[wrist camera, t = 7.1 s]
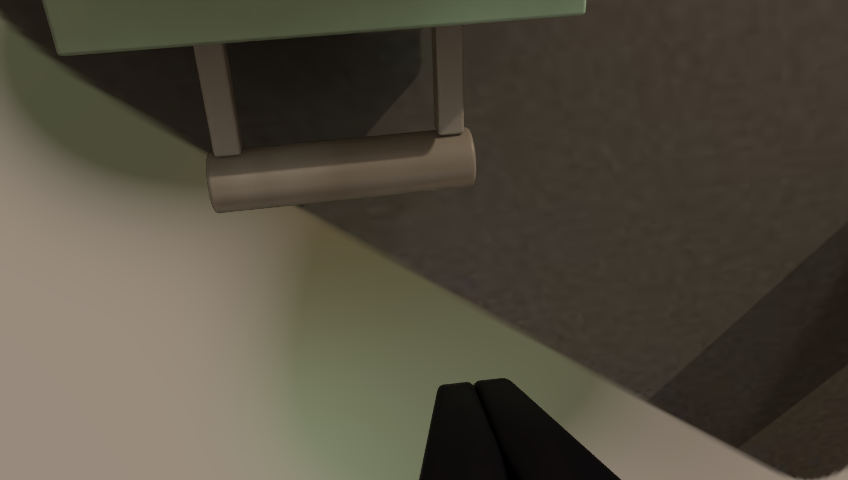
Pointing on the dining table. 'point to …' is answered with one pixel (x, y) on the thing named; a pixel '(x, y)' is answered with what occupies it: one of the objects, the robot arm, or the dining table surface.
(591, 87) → the dining table surface
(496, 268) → the dining table surface
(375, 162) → the drawer
